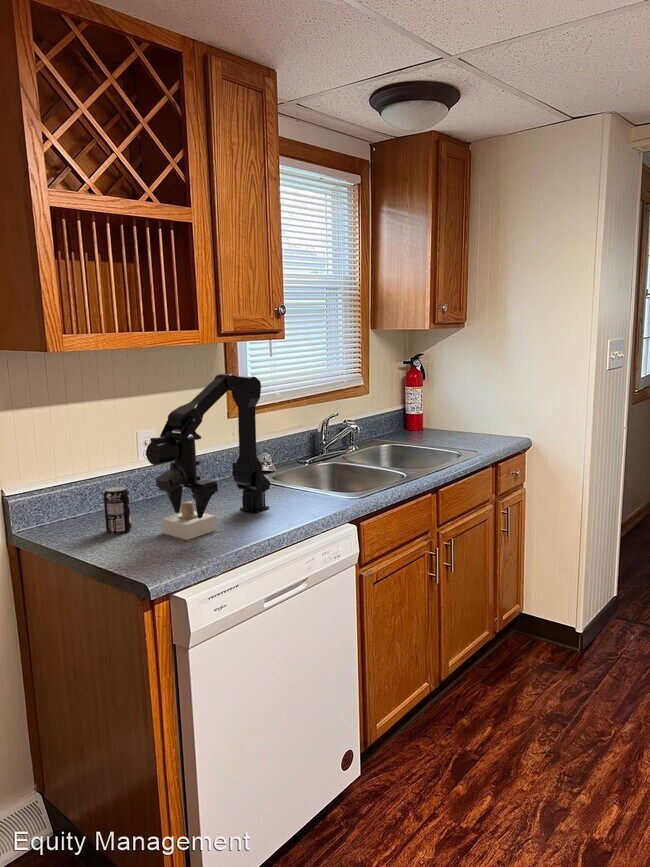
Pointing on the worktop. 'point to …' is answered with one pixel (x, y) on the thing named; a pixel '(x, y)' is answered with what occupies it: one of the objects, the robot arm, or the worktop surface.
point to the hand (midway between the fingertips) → (188, 515)
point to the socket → (188, 526)
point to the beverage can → (117, 509)
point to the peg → (187, 510)
